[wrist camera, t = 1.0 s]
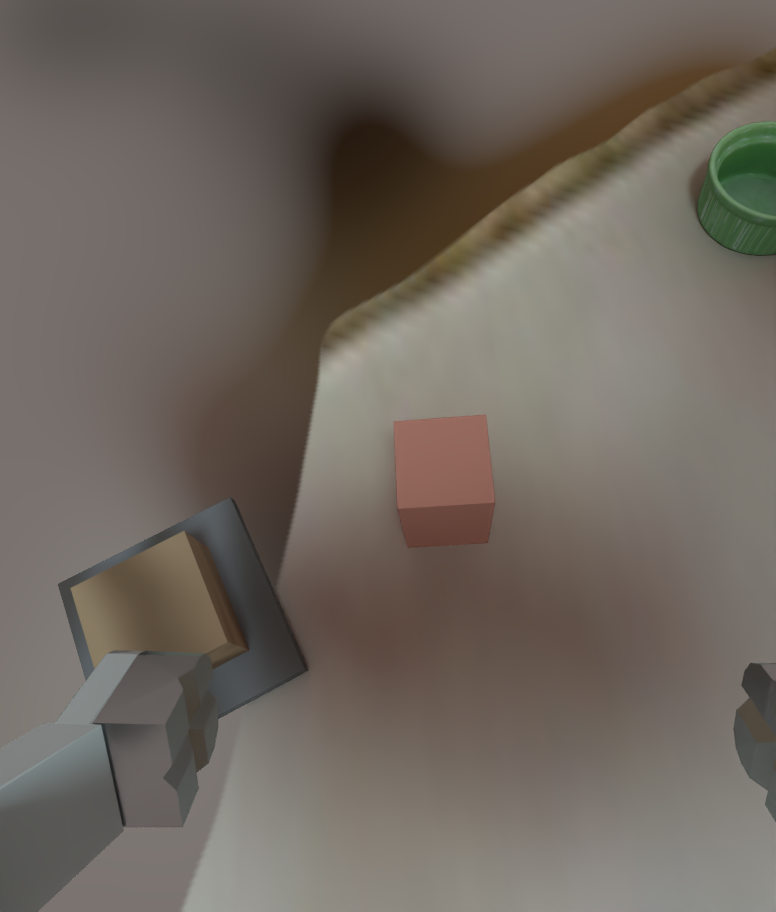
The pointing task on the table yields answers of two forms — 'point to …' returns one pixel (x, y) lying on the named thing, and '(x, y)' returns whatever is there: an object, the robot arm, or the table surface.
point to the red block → (444, 480)
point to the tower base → (244, 596)
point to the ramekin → (742, 190)
